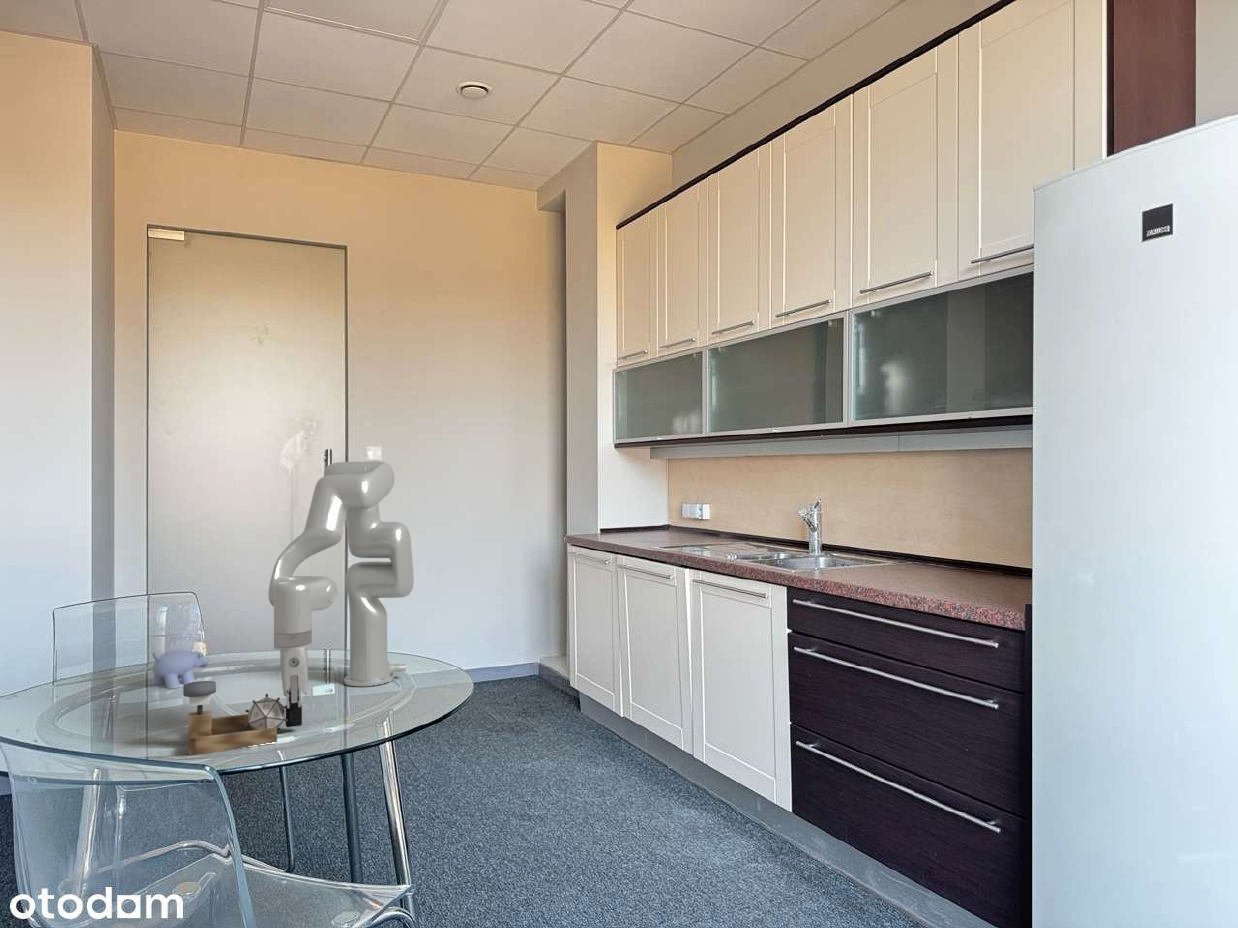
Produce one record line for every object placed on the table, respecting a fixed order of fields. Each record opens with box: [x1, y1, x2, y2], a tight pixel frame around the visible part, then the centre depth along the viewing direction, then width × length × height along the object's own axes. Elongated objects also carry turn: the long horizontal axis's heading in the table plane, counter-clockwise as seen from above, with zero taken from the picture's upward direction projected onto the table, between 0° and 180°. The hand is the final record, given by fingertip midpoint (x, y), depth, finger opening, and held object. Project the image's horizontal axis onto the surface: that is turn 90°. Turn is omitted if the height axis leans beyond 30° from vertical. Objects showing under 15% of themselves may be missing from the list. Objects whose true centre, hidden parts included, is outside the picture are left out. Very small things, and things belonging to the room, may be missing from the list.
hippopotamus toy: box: [151, 649, 210, 690], centre depth 219 cm, size 11×15×10 cm
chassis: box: [187, 705, 278, 756], centre depth 171 cm, size 16×14×8 cm
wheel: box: [182, 680, 217, 707], centre depth 169 cm, size 6×6×4 cm
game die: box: [244, 693, 288, 731], centre depth 174 cm, size 9×8×10 cm
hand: (293, 725), depth 176 cm, fingers closed
